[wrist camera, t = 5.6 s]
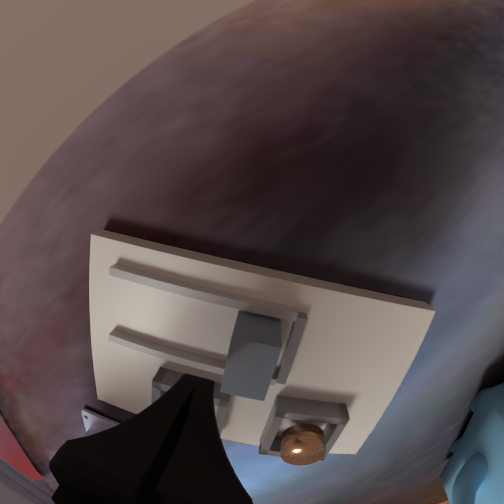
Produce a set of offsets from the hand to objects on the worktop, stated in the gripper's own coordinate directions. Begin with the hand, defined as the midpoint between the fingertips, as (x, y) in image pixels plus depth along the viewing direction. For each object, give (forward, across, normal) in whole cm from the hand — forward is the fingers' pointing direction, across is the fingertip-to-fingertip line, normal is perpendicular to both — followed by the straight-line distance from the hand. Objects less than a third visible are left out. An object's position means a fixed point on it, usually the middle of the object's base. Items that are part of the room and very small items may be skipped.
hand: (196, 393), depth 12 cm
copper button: (+4, -7, +6) cm, 10 cm away
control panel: (+7, -2, +3) cm, 8 cm away
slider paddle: (+5, -2, 0) cm, 6 cm away
